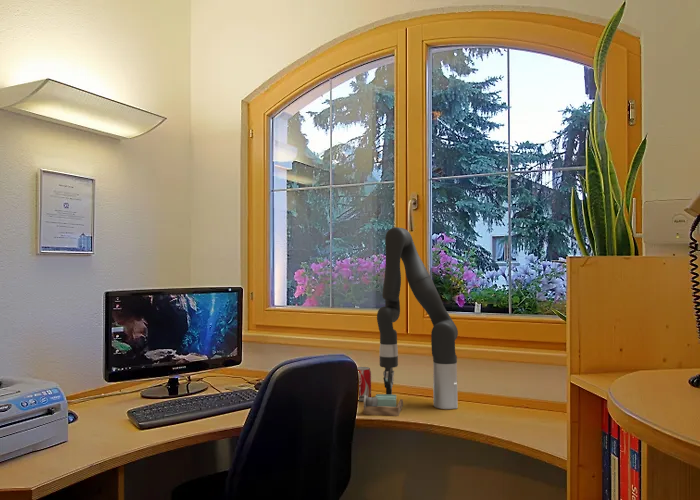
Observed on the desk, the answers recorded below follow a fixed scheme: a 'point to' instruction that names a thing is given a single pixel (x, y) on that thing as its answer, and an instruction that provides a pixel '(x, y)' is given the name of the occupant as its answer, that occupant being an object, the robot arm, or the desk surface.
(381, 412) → the bay
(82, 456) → the desk surface
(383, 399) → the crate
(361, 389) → the soda can
